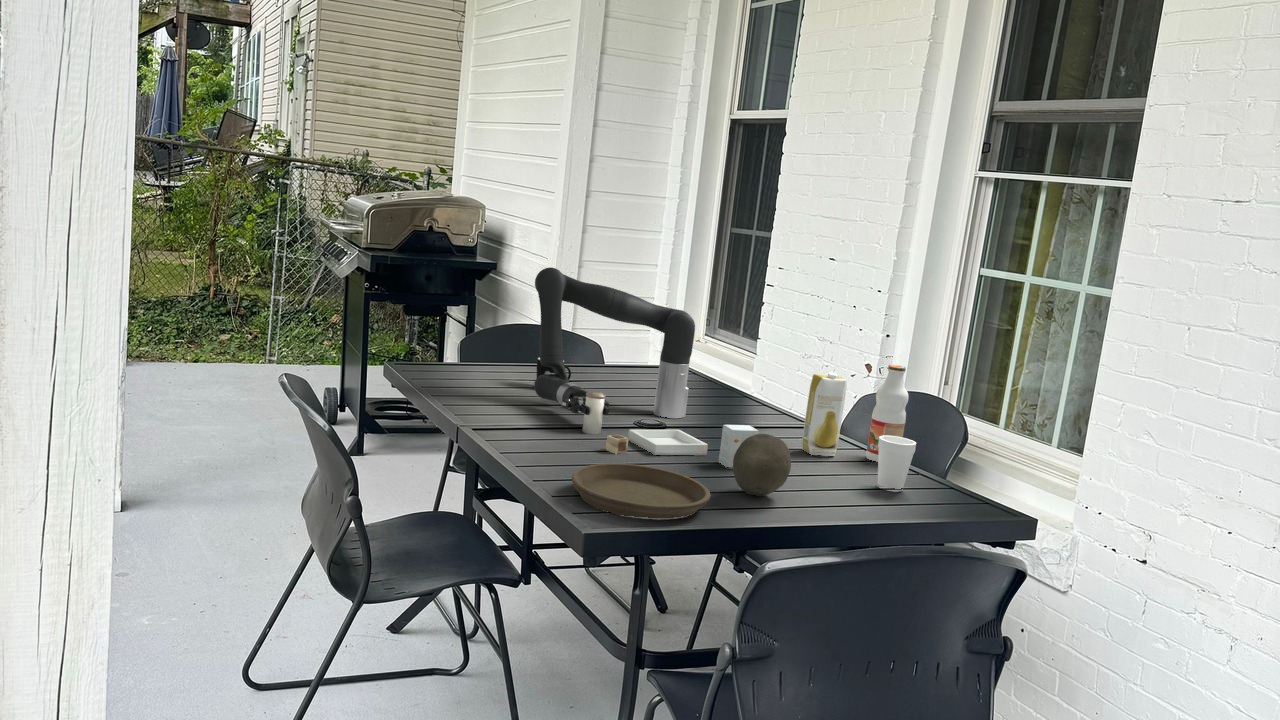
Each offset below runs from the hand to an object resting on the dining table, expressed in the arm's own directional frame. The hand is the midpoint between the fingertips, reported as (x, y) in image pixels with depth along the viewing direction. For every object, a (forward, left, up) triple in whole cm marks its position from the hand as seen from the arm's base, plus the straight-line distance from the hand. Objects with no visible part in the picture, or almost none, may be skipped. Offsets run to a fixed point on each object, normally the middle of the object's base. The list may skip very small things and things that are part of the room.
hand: (597, 411), depth 284 cm
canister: (0, -3, -7) cm, 7 cm away
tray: (-15, +14, -7) cm, 22 cm away
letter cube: (+2, +17, -7) cm, 19 cm away
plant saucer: (+16, +57, -7) cm, 60 cm away
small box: (-26, +32, -7) cm, 42 cm away
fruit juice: (-78, +30, -7) cm, 84 cm away
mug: (-11, -58, -7) cm, 59 cm away
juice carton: (-61, +22, -7) cm, 65 cm away
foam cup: (-59, +55, -7) cm, 81 cm away
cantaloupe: (-16, +57, -7) cm, 60 cm away
